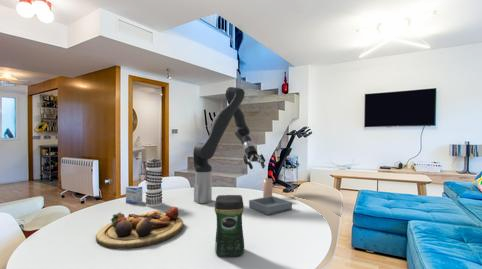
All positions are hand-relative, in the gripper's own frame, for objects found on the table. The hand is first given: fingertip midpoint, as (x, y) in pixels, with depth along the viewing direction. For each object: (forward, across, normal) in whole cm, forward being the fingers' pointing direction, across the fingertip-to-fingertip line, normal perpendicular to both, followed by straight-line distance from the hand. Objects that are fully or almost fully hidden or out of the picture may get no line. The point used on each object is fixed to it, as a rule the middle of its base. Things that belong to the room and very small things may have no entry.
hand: (258, 168), depth 155 cm
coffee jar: (+56, -45, -33) cm, 79 cm away
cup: (+20, 0, +3) cm, 21 cm away
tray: (+32, -8, -8) cm, 34 cm away
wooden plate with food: (+34, -70, -10) cm, 78 cm away
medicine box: (+1, -72, +22) cm, 75 cm away
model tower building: (+8, -62, +15) cm, 65 cm away
